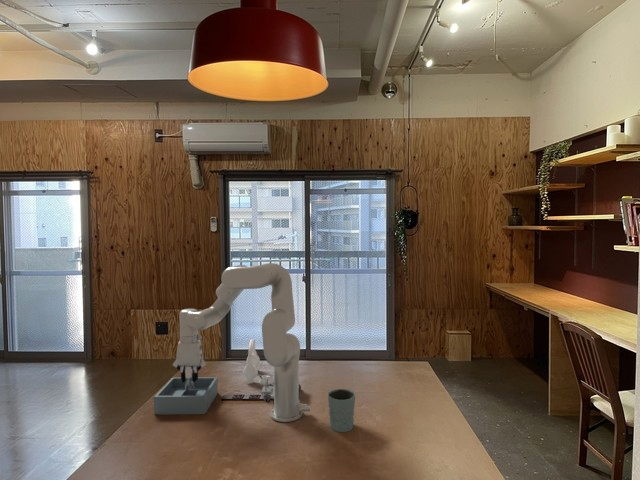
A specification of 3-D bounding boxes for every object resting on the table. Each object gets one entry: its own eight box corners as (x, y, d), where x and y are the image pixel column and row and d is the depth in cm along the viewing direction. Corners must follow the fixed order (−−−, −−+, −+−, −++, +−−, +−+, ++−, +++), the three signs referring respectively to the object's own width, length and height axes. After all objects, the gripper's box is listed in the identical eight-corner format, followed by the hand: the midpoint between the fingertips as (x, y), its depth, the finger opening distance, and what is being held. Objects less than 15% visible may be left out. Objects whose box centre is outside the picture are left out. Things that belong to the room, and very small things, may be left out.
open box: (217, 392, 178) (217, 377, 178) (205, 414, 158) (205, 396, 158) (172, 393, 178) (172, 377, 178) (154, 414, 158) (153, 396, 158)
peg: (192, 390, 169) (192, 366, 168) (183, 390, 169) (183, 366, 168) (195, 386, 173) (195, 363, 172) (186, 386, 173) (186, 363, 172)
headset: (257, 384, 187) (257, 346, 187) (241, 385, 187) (241, 347, 186) (260, 369, 207) (259, 334, 207) (246, 369, 207) (246, 335, 206)
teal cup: (332, 434, 142) (332, 401, 142) (324, 421, 152) (324, 390, 152) (359, 430, 145) (359, 398, 145) (349, 417, 155) (349, 387, 154)
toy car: (256, 378, 170) (261, 368, 181) (257, 401, 170) (261, 390, 182) (299, 378, 170) (300, 368, 181) (299, 401, 170) (301, 390, 181)
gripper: (211, 336, 174) (211, 377, 174) (172, 336, 174) (173, 377, 174) (206, 341, 166) (206, 384, 167) (166, 341, 166) (166, 384, 167)
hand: (189, 380), depth 171 cm, fingers closed on peg, 4 cm apart
